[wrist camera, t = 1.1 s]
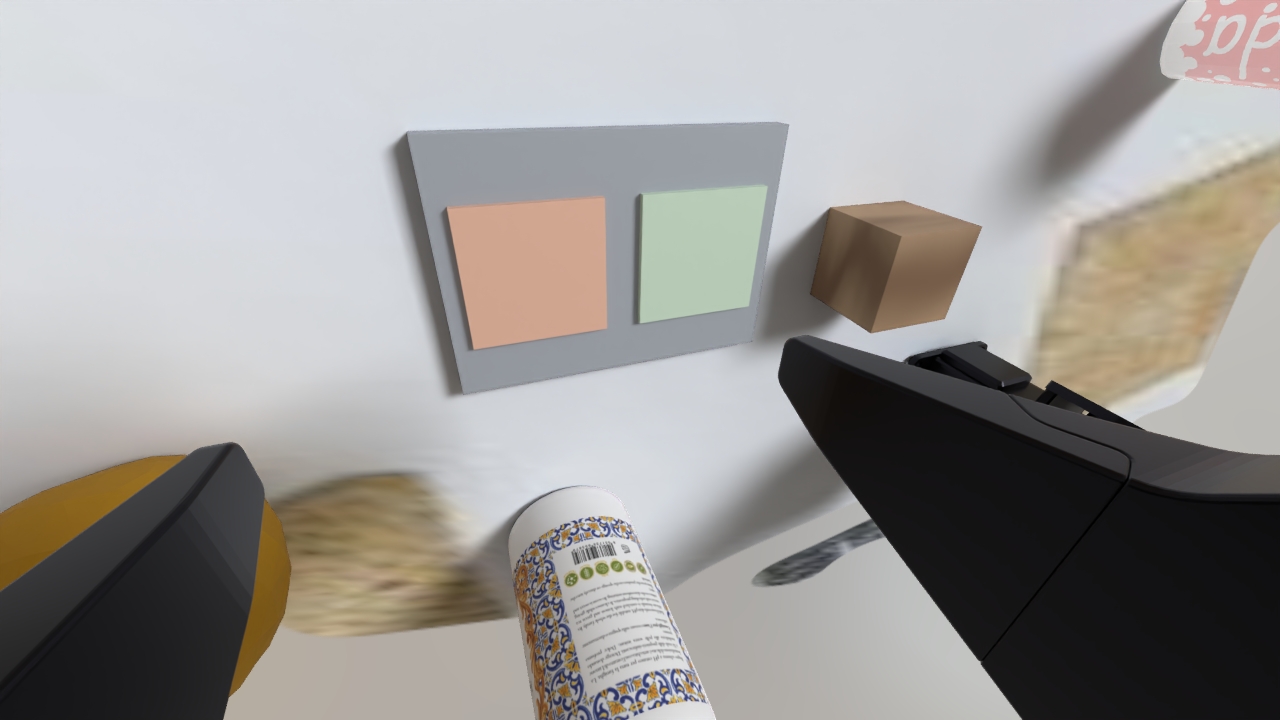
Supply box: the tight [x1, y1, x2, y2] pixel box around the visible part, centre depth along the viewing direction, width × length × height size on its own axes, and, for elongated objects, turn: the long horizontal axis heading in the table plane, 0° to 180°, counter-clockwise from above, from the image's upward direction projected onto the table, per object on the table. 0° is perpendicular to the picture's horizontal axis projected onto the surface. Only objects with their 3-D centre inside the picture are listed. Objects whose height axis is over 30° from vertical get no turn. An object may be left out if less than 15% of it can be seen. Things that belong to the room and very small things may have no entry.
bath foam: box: [508, 486, 716, 720], centre depth 20 cm, size 7×7×20 cm
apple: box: [0, 455, 291, 697], centre depth 16 cm, size 9×8×9 cm
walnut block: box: [810, 201, 982, 333], centre depth 23 cm, size 4×4×4 cm
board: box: [407, 122, 789, 395], centre depth 20 cm, size 10×14×1 cm
